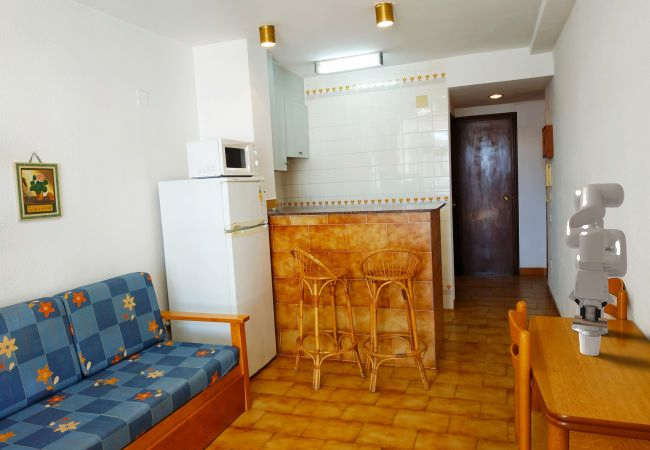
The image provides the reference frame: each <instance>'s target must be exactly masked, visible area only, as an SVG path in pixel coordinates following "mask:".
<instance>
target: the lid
mask: <svg viewBox="0 0 650 450" xmlns="http://www.w3.org/2000/svg"><path fill="white" fill-rule="evenodd" d="M573 324H576V325H584V326H592V327H600V328H607V329H608V318H607V317H604V318H598V321H596V306H595V305H585V319H582V316H580V315H576V314H574V316H573V320H572V325H573Z"/></svg>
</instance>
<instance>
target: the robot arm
mask: <svg viewBox="0 0 650 450" xmlns="http://www.w3.org/2000/svg"><path fill="white" fill-rule="evenodd" d="M572 199H573V205H574V209H575V211H574V213H573V214H572V215H571V216H570V217H569V218H568V219H567V221H566V223H565V227H564V228H565V229H564V244H565V246H567V247H568V248H570V249H579V250H578V253H577V255H576V256H575V258H574V267H575V274H574V285H573V289H572V290H571V292H570V293H569V295H568V298H569V299H570V300H571V301H573V302H574V303H576V304H575V305H576V306H575V307H576V309H575V310H576V312H575V315H580V316H582V319H585V305H595V306H596V321H598V318H605V307H607V305H609V304H612V303H614V302H615V300H614V298H613V297H612V295H611V294H610V292H609V278H616V279H619V278H623V277H625V276H626V274H627V272H628V251H627V250H628V249H627V237H626V235H625V233H624V231H623V230H622V229H616V228H605V227H604V226H605V221H604V218H605V216H606V214H607V213H606V209H607V208H608V209H609V208H612V209H613V208H616V209H617V208H619V207H621V206H622V204H623V203H624V200H625V190H624V187H623V186H622V185H621V184H620V183H612V182H608V183H607V182H606V183H590V184H586V185H585V186H583V187H581V188H578V189H576V190H575V191H574V193H573V197H572ZM571 329H572V331H575V332H577V333H579V331H594V332H598V333H600V334H601V336H604V335H607V334H608V333H609V329H608V327H607V328H600V327H592V326H584V325H576V324H573V323H572V325H571Z"/></svg>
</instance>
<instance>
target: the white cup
mask: <svg viewBox="0 0 650 450" xmlns="http://www.w3.org/2000/svg"><path fill="white" fill-rule="evenodd" d="M578 340H579V351H580V353H581V354H582V355H586V356H591V357H594V356H599V355H600V349H601V341H602V335H601V334H600V333H598V332H594V331H579V332H578Z"/></svg>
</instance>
